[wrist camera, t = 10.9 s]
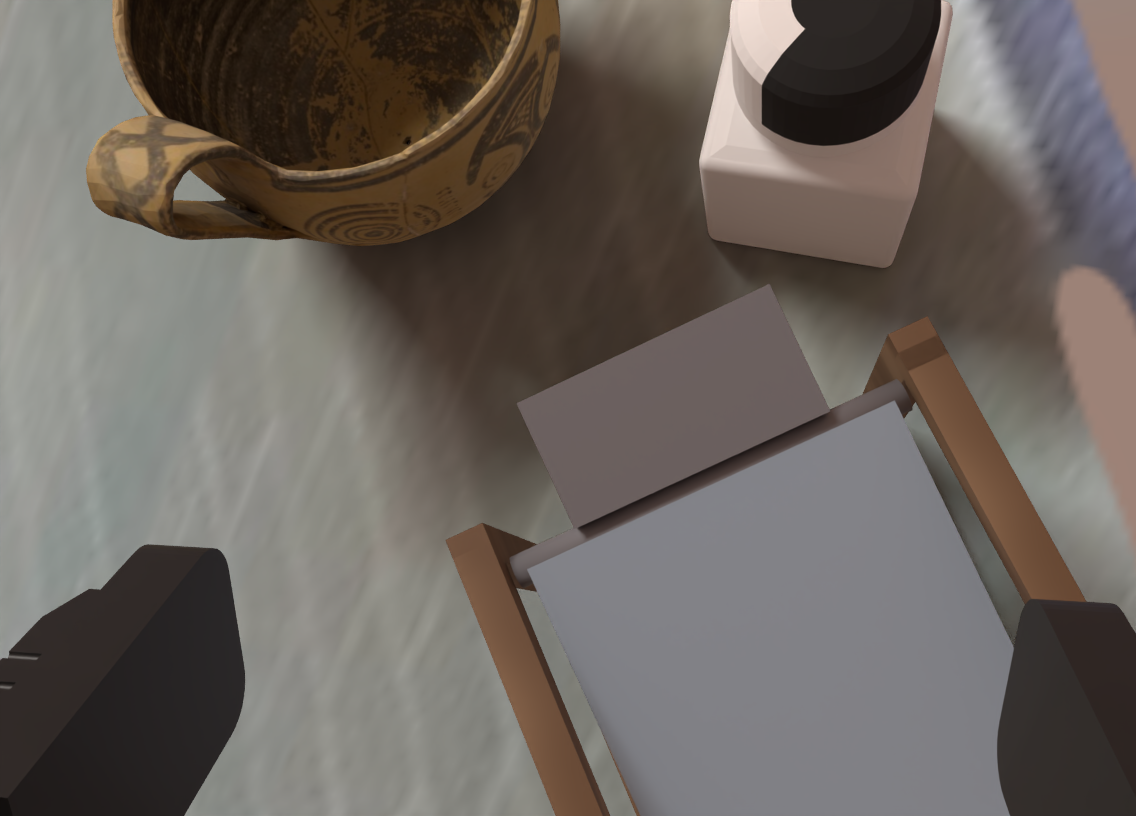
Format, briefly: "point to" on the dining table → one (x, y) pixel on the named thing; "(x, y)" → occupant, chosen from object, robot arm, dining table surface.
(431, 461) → the dining table surface
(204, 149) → the ceramic bowl
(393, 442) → the dining table surface
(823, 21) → the container
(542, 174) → the dining table surface
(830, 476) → the trapdoor
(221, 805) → the dining table surface
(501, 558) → the frame
